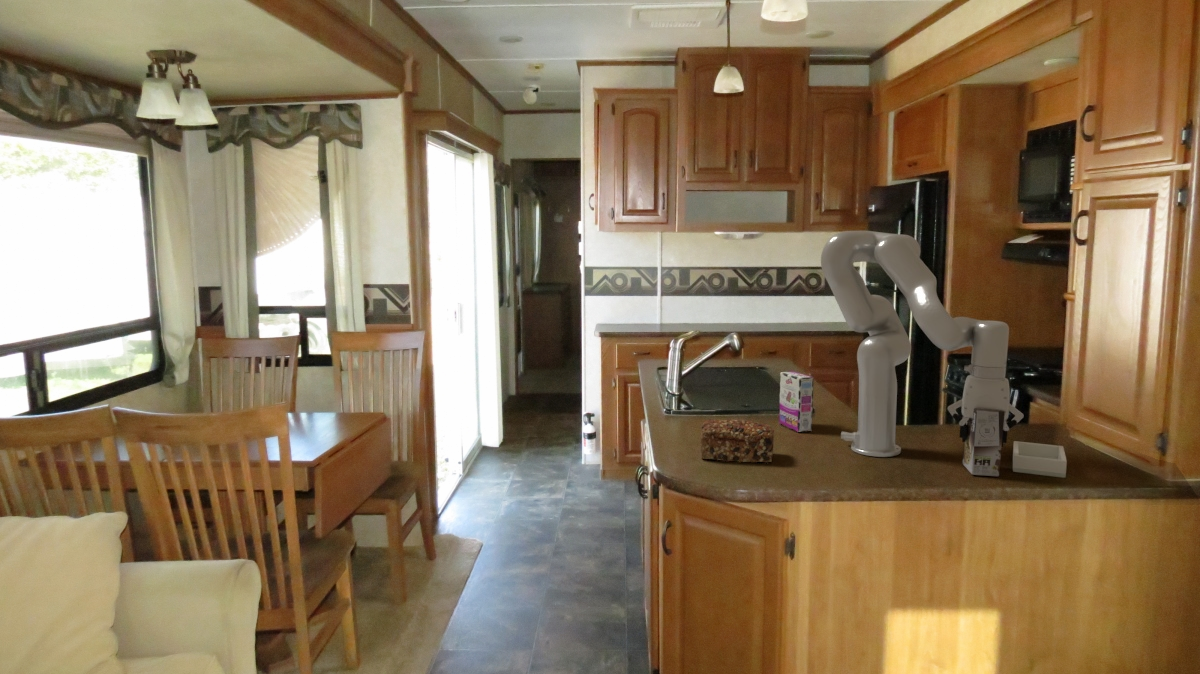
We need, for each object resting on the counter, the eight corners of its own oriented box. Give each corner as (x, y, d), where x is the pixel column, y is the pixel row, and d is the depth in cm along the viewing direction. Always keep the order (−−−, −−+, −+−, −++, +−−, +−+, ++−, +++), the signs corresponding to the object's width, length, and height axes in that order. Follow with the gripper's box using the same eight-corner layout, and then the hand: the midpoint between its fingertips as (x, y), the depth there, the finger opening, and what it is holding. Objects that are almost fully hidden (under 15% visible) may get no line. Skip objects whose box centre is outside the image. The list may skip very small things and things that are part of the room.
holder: (1012, 471, 186) (1013, 455, 185) (1012, 455, 198) (1013, 441, 197) (1065, 477, 180) (1066, 461, 180) (1062, 461, 193) (1063, 446, 192)
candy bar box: (813, 431, 224) (814, 377, 221) (798, 433, 222) (799, 378, 220) (792, 422, 234) (793, 370, 232) (778, 424, 233) (779, 371, 230)
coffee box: (1000, 477, 181) (1005, 411, 179) (971, 475, 183) (976, 410, 180) (988, 464, 190) (994, 402, 188) (961, 463, 191) (966, 400, 189)
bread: (699, 461, 198) (699, 424, 197) (704, 449, 209) (704, 414, 207) (773, 465, 194) (773, 427, 192) (773, 453, 204) (774, 417, 203)
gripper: (947, 371, 183) (942, 442, 186) (1029, 378, 175) (1023, 452, 178) (949, 366, 190) (944, 434, 193) (1029, 372, 182) (1022, 443, 185)
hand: (982, 442), depth 185 cm, fingers closed on coffee box, 7 cm apart
